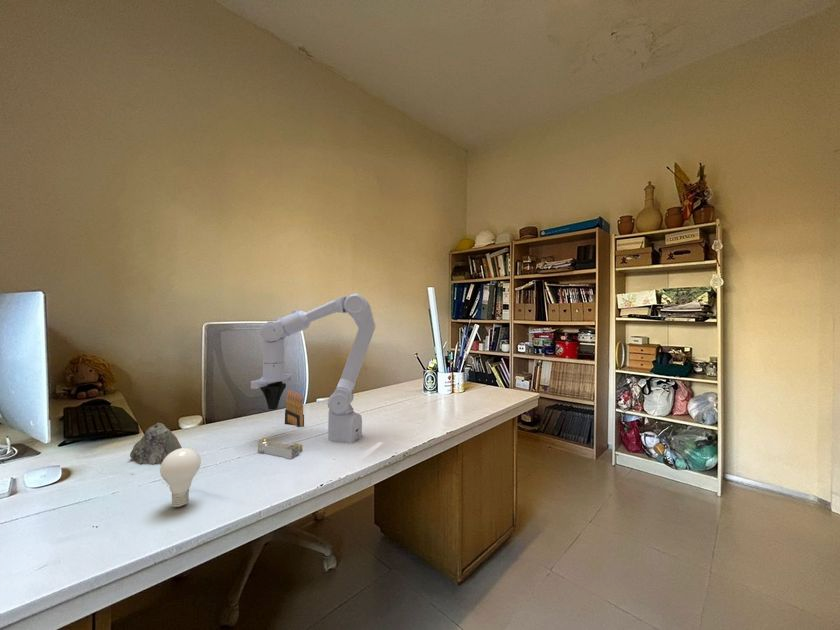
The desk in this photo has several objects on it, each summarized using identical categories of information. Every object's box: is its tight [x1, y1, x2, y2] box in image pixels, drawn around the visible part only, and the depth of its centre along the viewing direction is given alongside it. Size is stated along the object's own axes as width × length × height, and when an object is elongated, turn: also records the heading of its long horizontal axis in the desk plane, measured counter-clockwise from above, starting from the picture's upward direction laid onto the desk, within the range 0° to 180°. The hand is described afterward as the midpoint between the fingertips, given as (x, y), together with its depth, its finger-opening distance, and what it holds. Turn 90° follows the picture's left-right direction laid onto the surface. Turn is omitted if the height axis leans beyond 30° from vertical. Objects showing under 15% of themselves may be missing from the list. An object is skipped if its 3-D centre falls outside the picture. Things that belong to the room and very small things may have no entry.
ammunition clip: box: [284, 389, 305, 428], centre depth 111 cm, size 11×2×12 cm, turn 46°
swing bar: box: [257, 437, 301, 460], centre depth 86 cm, size 12×3×3 cm, turn 70°
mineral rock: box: [129, 422, 183, 465], centre depth 83 cm, size 13×11×10 cm
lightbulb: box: [159, 447, 202, 508], centre depth 64 cm, size 6×6×11 cm
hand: (272, 408), depth 96 cm, fingers closed
